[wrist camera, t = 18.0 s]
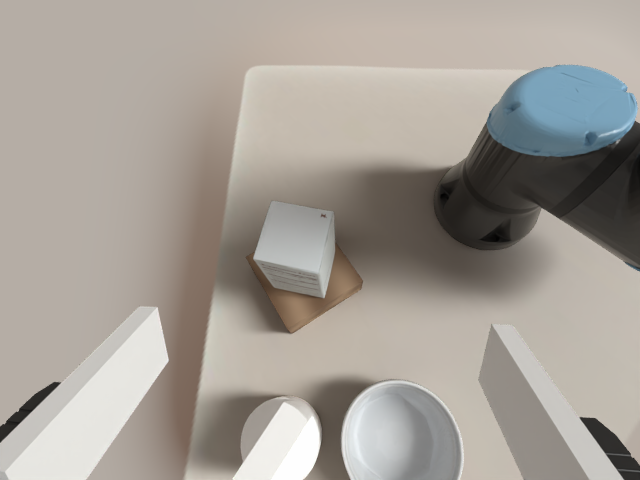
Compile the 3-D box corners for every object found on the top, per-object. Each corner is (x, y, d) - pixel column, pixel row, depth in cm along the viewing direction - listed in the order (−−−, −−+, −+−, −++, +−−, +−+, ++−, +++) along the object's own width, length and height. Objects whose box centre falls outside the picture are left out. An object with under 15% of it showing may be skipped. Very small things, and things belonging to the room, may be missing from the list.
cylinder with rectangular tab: (280, 381, 46) (262, 381, 35) (335, 424, 44) (334, 438, 33) (238, 443, 44) (204, 464, 33) (294, 492, 41) (278, 533, 30)
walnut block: (318, 229, 55) (316, 215, 51) (361, 289, 51) (362, 280, 46) (253, 267, 53) (245, 257, 49) (292, 334, 49) (287, 329, 45)
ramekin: (319, 434, 44) (315, 443, 37) (386, 357, 47) (394, 354, 40) (399, 527, 40) (410, 555, 33) (467, 436, 43) (490, 445, 36)
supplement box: (286, 240, 49) (271, 197, 38) (336, 250, 48) (336, 209, 37) (271, 288, 47) (250, 258, 35) (324, 301, 46) (320, 274, 34)
